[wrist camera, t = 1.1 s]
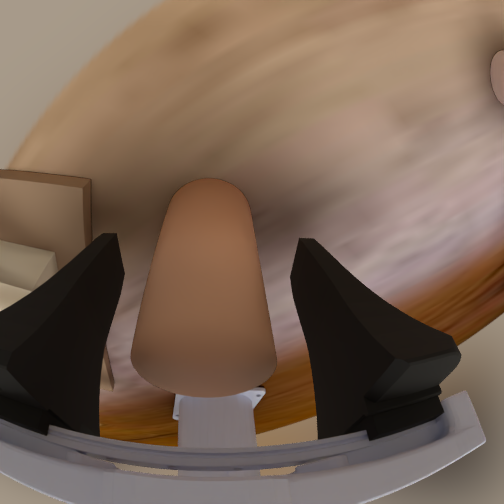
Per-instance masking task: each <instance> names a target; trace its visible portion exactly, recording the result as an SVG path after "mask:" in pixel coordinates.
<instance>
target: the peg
mask: <svg viewBox="0 0 504 504" xmlns="http://www.w3.org/2000/svg"><path fill="white" fill-rule="evenodd" d="M131 362H132V364H133V367H134V368H135V370H136V371H137V372H138V374H139V375H140V376H141V377H143V378H144V379H145V380H146V381H148V382H149V383H151V384H153V385H155V386H156V387H158V388H161V389H163V390H166V391H169V392H172V393H175V394H179V395H184V396H191V397H202V398H214V397H225V396H231V395H236V394H240V393H243V392H246V391H249V390H251V389H253V388H255V387H257V386H259V385H261V384H262V383H264V382H265V381H266V380H267V379H269V378H270V376H271V375H272V374H273V372H274V371H275V369H276V365H277V357H276V351H275V345H274V340H273V334H272V328H271V322H270V317H269V311H268V305H267V300H266V294H265V288H264V283H263V277H262V272H261V266H260V260H259V255H258V249H257V244H256V238H255V233H254V227H253V221H252V216H251V210H250V206H249V203H248V201H247V199H246V197H245V196H244V194H243V193H242V192H241V191H240V190H239V189H238V188H236V187H235V186H234V185H232V184H230V183H228V182H226V181H223V180H219V179H213V178H205V179H198V180H195V181H192V182H189V183H188V184H186V185H184V186H183V187H181V188H180V189H179V190H178V191H177V192H176V193H175V194H174V196H173V197H172V199H171V201H170V203H169V206H168V209H167V212H166V216H165V219H164V222H163V225H162V228H161V232H160V235H159V239H158V242H157V245H156V249H155V252H154V256H153V260H152V263H151V267H150V271H149V274H148V278H147V282H146V286H145V290H144V294H143V298H142V303H141V307H140V311H139V316H138V320H137V325H136V329H135V334H134V339H133V344H132V349H131Z"/></svg>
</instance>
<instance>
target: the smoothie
mask: <svg viewBox="0 0 504 504" xmlns="http://www.w3.org/2000/svg"><path fill="white" fill-rule="evenodd" d="M490 76H491V83H492V88H493V91H494V93H495V95H496V97H497V99H498V100H499V102H500V103H502V104H503V105H504V51H498V52H497V53H496V54H495V55H494V57H493V59H492V62H491V69H490Z"/></svg>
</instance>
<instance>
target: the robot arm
mask: <svg viewBox="0 0 504 504" xmlns="http://www.w3.org/2000/svg"><path fill="white" fill-rule="evenodd" d="M124 275H125V272H124V267H123V263H122V258H121V253H120V249H119V243H118V238H117V233H103V234H101V235H100V236H99V237H97V238H96V239H95V240H94V241H93V242H91V243H90V244H89V245H88V246H87V247H86V248H85V249H83V250H82V251H81V252H80V253H79V254H78V255H77V256H75V257H74V258H73V259H72V260H71V261H70V262H69V263H67V264H66V265H65V266H64V267H63V268H62V269H60V270H59V271H58V272H57V273H56V274H55V275H53V276H52V277H51V278H50V279H48V280H47V281H46V282H45V283H43V284H42V285H40V286H39V287H38V288H36V289H35V290H34V291H32V292H31V293H29V294H28V295H26V296H25V297H23V298H22V299H20V300H18V301H17V302H15V303H14V304H12V305H11V306H9V307H7V308H5V309H4V310H2V311H0V473H2V474H4V475H5V476H7V477H9V478H11V479H13V480H15V481H17V482H19V483H21V484H23V485H25V486H27V487H29V488H31V489H33V490H36V491H38V492H40V493H42V494H45V495H47V496H50V497H52V498H54V499H57V500H60V501H62V502H65V503H68V504H364V503H367V502H370V501H372V500H375V499H378V498H380V497H383V496H385V495H388V494H391V493H393V492H395V491H398V490H400V489H402V488H404V487H407V486H409V485H411V484H413V483H415V482H417V481H420V480H422V479H424V478H425V477H428V476H430V475H431V474H433V473H435V472H437V471H439V470H441V469H443V468H444V467H446V466H448V465H450V464H451V463H453V462H455V461H456V460H458V459H460V458H461V457H463V456H465V455H466V454H468V453H469V452H471V451H473V450H474V449H476V448H477V447H479V446H481V445H482V444H484V443H485V442H486V438H485V435H484V433H483V430H482V427H481V425H480V422H479V420H478V417H477V415H476V412H475V410H474V407H473V405H472V403H471V400H470V398H469V396H468V393H467V391H462V392H460V393H457V394H455V395H453V396H450V397H448V398H446V399H444V400H442V401H441V402H440V400H439V397H438V395H440V394H441V388H440V386H439V384H440V383H441V382H442V381H443V380H444V379H445V378H446V377H447V376H448V375H449V374H450V373H451V372H452V371H453V370H454V369H455V368H456V367H457V365H458V364H459V362H460V359H461V353H460V351H459V349H458V347H457V345H456V344H455V342H454V340H453V338H452V336H450V335H448V334H446V333H443V332H441V331H439V330H436V329H434V328H432V327H429V326H427V325H425V324H423V323H421V322H419V321H418V320H416V319H414V318H412V317H410V316H408V315H407V314H405V313H403V312H402V311H400V310H399V309H397V308H395V307H394V306H392V305H391V304H389V303H388V302H386V301H385V300H383V299H382V298H381V297H379V296H378V295H377V294H375V293H374V292H372V291H371V290H370V289H369V288H367V287H366V286H365V285H364V284H363V283H361V282H360V281H359V280H358V279H357V278H356V277H354V276H353V275H352V274H351V273H350V272H349V271H348V270H347V269H345V268H344V267H343V266H342V265H341V264H340V263H339V262H338V261H337V260H336V259H335V258H334V257H333V256H332V255H331V254H330V253H329V252H328V251H327V250H326V249H325V248H324V247H323V246H321V245H320V244H319V243H318V242H317V241H316V240H315V239H311V238H299V241H298V246H297V250H296V254H295V258H294V263H293V267H292V271H291V275H290V280H291V287H292V293H293V299H294V303H295V306H296V309H297V313H298V316H299V320H300V323H301V326H302V330H303V333H304V336H305V340H306V343H307V347H308V351H309V357H310V363H311V369H312V376H313V384H314V391H315V401H316V412H317V430H318V440H314V441H307V442H300V443H292V444H283V445H273V446H261V447H257V443H256V433H255V424H254V415H253V409H254V407H255V406H256V405H257V403H258V402H259V401H260V400H261V398H262V397H263V396H264V394H265V393H266V391H265V388H259V387H255V388H253V389H251V390H249V391H246V392H243V393H240V394H236V395H231V396H225V397H214V398H202V397H191V396H184V395H179V394H176V396H175V403H174V411H173V419H175V420H179V424H178V447H171V446H158V445H149V444H140V443H132V442H126V441H119V440H113V439H107V438H102V437H100V430H99V396H100V381H101V371H102V363H103V356H104V349H105V345H106V341H107V337H108V333H109V330H110V327H111V324H112V320H113V317H114V314H115V311H116V308H117V304H118V301H119V298H120V295H121V290H122V286H123V280H124ZM99 459H101V460H99ZM103 460H106V461H111V462H117V463H122V464H128V465H135V466H142V467H151V468H159V469H171V470H178V476H171V475H157V474H149V473H140V472H133V471H125V470H120V469H119V468H117V467H116V466H115V465H114V464H113V463H109V462H106V461H103ZM303 464H304V465H303ZM296 465H300V466H297V467H296V468H295V472H293V473H291V474H287V475H274V476H260V469H271V468H281V467H288V466H296Z"/></svg>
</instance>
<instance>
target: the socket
mask: <svg viewBox="0 0 504 504" xmlns="http://www.w3.org/2000/svg"><path fill="white" fill-rule="evenodd" d="M91 242H92V231H91V179H86V178H78V177H70V176H61V175H53V174H44V173H34V172H24V171H14V170H2V169H0V311H2V310H4V309H5V308H7V307H9V306H11V305H12V304H14V303H15V302H17V301H18V300H20V299H22V298H23V297H25V296H26V295H28V294H29V293H31V292H32V291H34V290H35V289H36V288H38V287H39V286H40V285H42V284H43V283H45V282H46V281H47V280H48V279H50V278H51V277H52V276H53V275H55V274H56V273H57V272H58V271H59V270H60V269H62V268H63V267H64V266H65V265H66V264H67V263H69V262H70V261H71V260H72V259H73V258H74V257H75V256H77V255H78V254H79V253H80V252H81V251H82V250H83V249H85V248H86V247H87V246H88V245H89V244H90V243H91ZM113 388H114V379H113V375H112V371H111V367H110V362H109V358H108V353H107V349H106V345H105V349H104V356H103V363H102V371H101V381H100V389H104V390H108V391H113Z"/></svg>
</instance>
